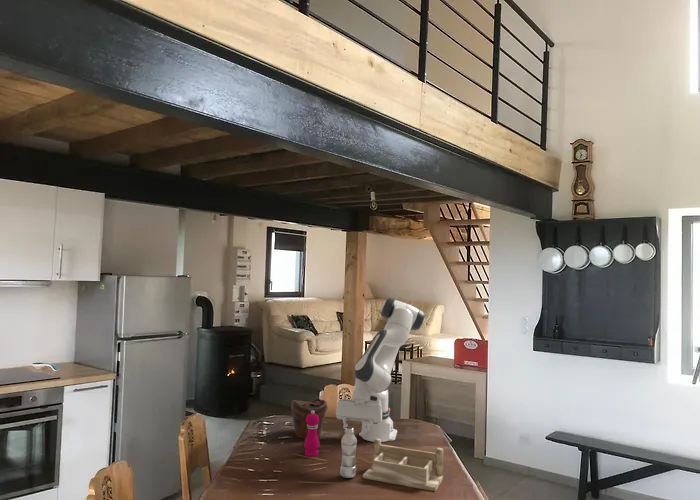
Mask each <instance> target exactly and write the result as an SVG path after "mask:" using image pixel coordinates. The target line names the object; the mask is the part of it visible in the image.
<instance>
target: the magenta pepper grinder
mask: <svg viewBox="0 0 700 500" xmlns="http://www.w3.org/2000/svg"><path fill="white" fill-rule="evenodd" d="M314 413H315V411H314V410H312V411H311V414H309V415H307V417H306V422H307V423H308V424H307V428H308V434H307V437H306V438H304V443H303V447H304V448H305V449H304V455H305V456H306V457H318V456H319V452H320V451H319V448H320V443H321V441H320V439H319V436H317V428H318V424H317V423H318V422H319V417H318V415H317V414H314Z"/></svg>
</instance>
